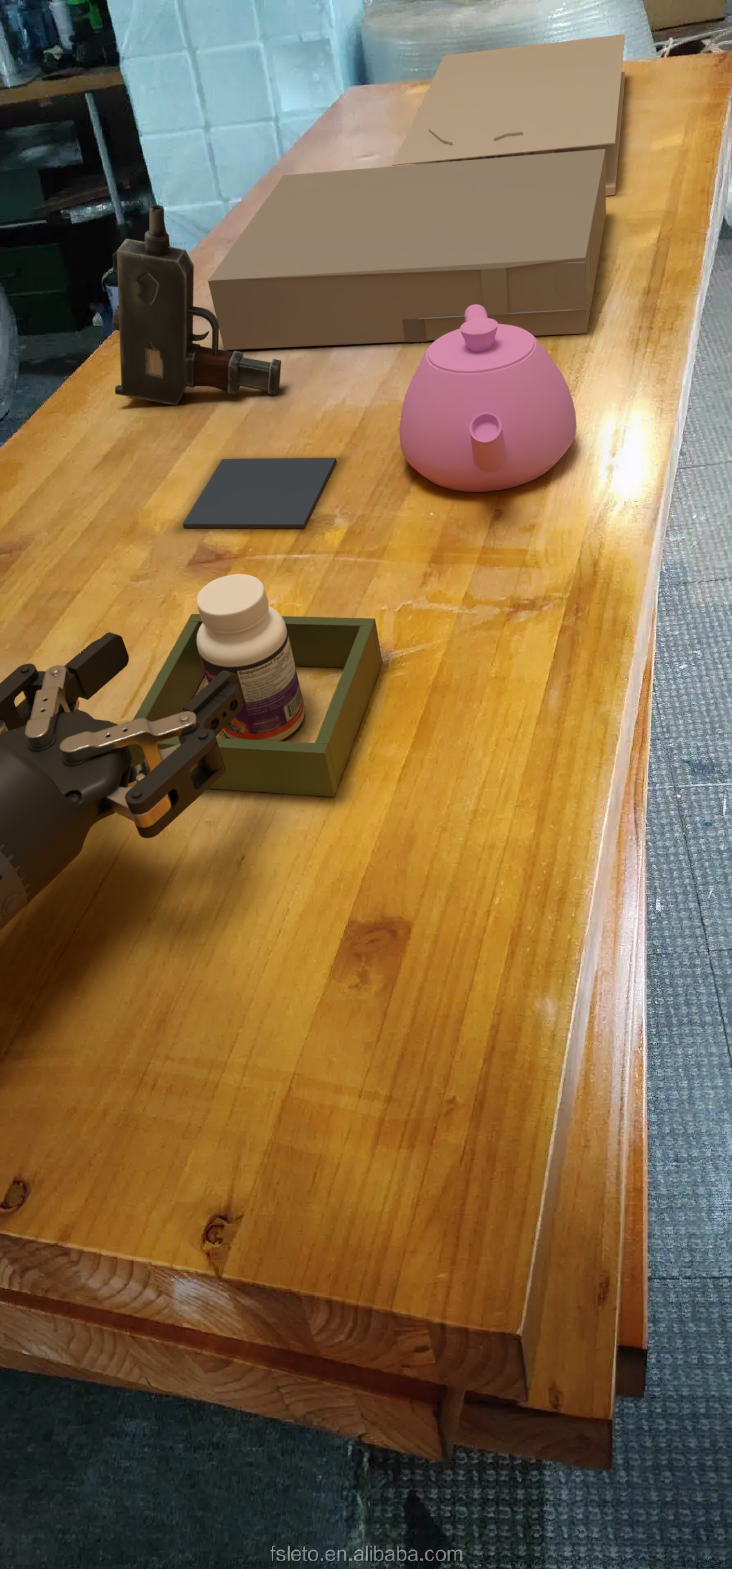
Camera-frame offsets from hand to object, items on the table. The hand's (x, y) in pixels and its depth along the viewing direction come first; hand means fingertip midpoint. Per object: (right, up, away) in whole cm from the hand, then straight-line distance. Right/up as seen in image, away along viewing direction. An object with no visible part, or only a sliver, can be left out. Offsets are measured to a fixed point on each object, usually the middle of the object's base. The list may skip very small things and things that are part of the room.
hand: (176, 664), depth 67 cm
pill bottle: (+4, -3, +9) cm, 10 cm away
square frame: (+4, -3, +9) cm, 10 cm away
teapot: (+20, +19, +28) cm, 40 cm away
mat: (+2, +17, +29) cm, 34 cm away
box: (+17, +45, +56) cm, 73 cm away
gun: (-4, +29, +44) cm, 53 cm away
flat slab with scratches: (+30, +74, +84) cm, 117 cm away
